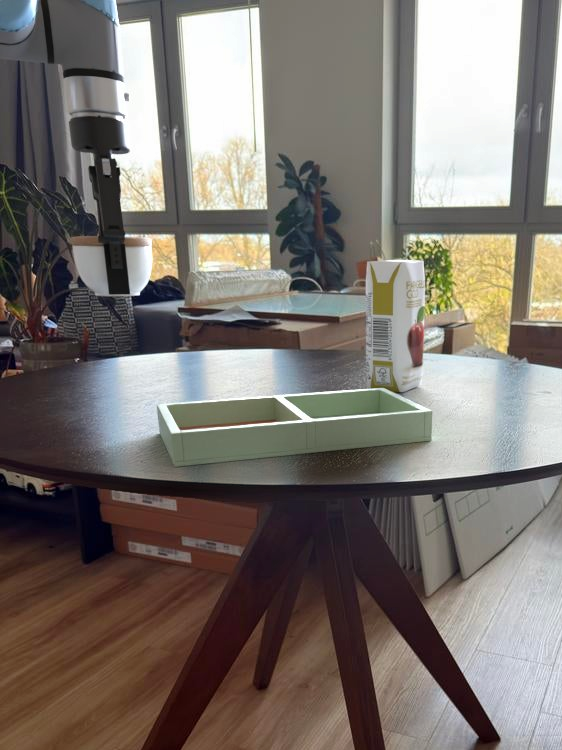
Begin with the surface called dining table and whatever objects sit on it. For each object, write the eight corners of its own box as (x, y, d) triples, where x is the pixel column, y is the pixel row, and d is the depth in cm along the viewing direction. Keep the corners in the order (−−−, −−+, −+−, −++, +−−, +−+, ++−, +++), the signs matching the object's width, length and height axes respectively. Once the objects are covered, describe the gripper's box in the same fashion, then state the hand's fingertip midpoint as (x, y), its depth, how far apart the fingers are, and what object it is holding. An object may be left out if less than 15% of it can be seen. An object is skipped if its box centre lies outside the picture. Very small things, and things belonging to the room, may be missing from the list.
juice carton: (360, 390, 112) (359, 260, 105) (385, 381, 119) (385, 259, 113) (404, 394, 109) (406, 261, 102) (427, 385, 116) (430, 260, 109)
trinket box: (171, 294, 107) (165, 226, 104) (124, 298, 97) (116, 224, 94) (112, 292, 110) (104, 226, 107) (60, 296, 101) (50, 223, 98)
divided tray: (174, 467, 74) (171, 433, 72) (159, 432, 87) (156, 404, 85) (431, 440, 84) (432, 411, 82) (383, 413, 97) (383, 387, 96)
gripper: (134, 107, 87) (152, 296, 95) (123, 132, 107) (138, 287, 115) (67, 102, 85) (91, 297, 92) (68, 128, 105) (87, 287, 112)
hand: (117, 291), depth 104 cm, fingers closed on trinket box, 11 cm apart
